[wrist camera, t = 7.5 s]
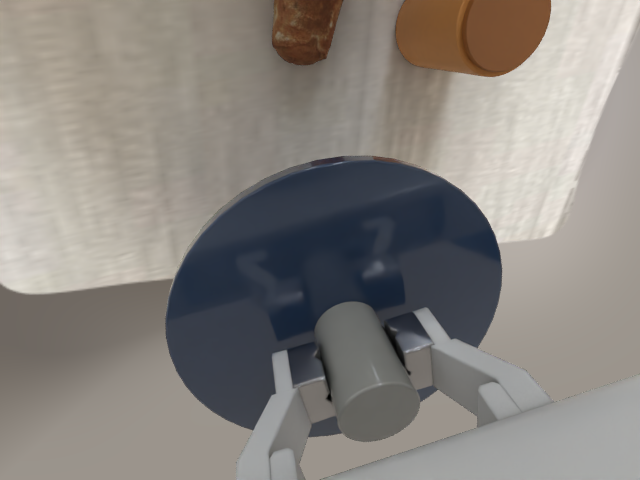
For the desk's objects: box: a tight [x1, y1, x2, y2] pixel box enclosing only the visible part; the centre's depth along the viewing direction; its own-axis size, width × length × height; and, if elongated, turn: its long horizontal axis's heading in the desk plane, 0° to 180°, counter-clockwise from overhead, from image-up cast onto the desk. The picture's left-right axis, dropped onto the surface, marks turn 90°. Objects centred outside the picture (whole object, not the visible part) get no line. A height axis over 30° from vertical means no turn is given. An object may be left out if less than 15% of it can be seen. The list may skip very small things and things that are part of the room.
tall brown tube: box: [396, 0, 551, 77], centre depth 24 cm, size 6×6×10 cm
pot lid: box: [165, 156, 502, 442], centre depth 12 cm, size 12×12×5 cm
